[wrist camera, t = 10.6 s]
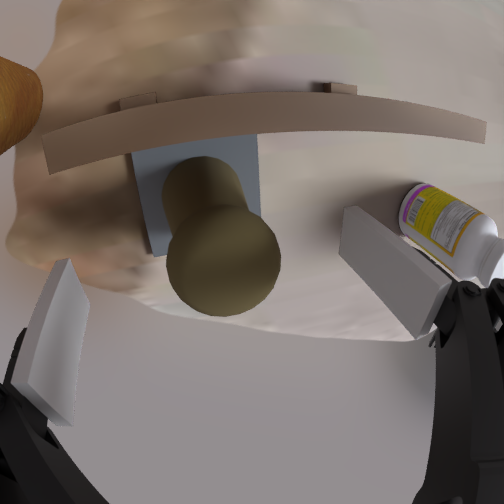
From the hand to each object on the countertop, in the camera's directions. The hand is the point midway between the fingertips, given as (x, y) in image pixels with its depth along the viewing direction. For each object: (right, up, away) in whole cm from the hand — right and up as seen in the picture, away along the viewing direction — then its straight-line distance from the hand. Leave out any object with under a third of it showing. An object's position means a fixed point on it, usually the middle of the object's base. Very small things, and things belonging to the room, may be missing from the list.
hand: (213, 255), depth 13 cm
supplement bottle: (+20, +5, +16) cm, 26 cm away
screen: (+1, +11, +6) cm, 12 cm away
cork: (-2, +4, +8) cm, 10 cm away
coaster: (-2, +5, +9) cm, 10 cm away
